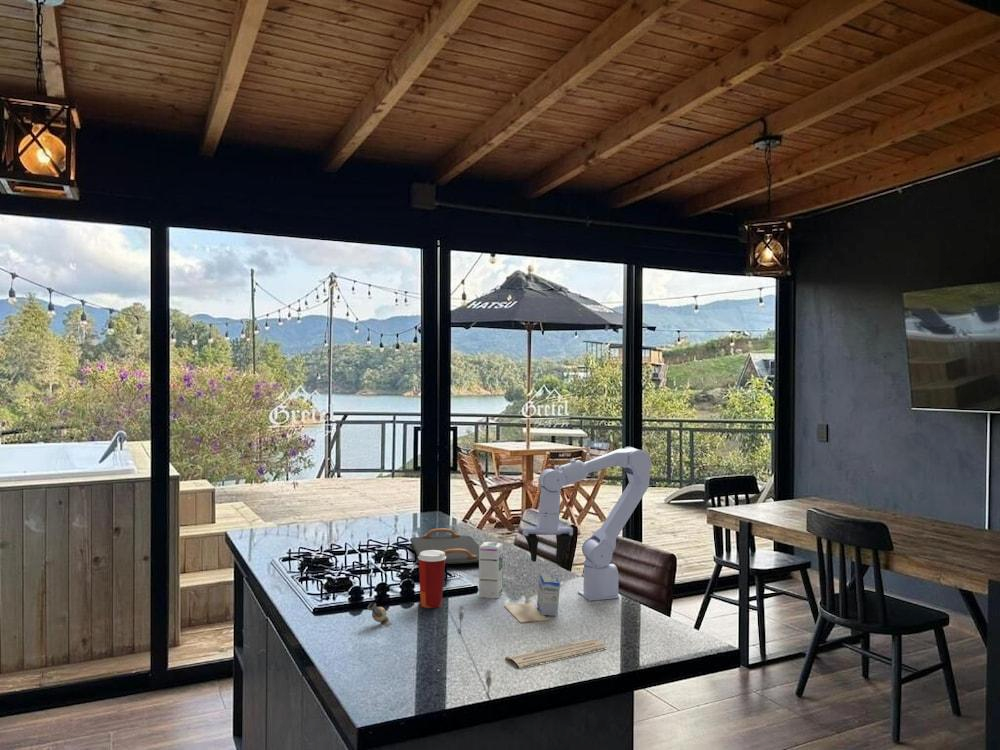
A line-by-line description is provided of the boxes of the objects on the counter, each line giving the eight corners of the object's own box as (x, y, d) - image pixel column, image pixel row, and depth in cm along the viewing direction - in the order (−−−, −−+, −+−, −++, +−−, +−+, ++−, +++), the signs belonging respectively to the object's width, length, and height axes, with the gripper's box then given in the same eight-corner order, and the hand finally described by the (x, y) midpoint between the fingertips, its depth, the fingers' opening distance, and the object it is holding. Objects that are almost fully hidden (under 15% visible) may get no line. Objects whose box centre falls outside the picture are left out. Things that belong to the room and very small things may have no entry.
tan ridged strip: (519, 672, 151) (519, 664, 151) (502, 660, 157) (502, 652, 157) (606, 652, 163) (606, 644, 163) (587, 641, 169) (587, 634, 169)
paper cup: (450, 602, 193) (451, 551, 193) (436, 611, 186) (437, 557, 186) (425, 598, 196) (426, 548, 196) (411, 606, 189) (412, 554, 189)
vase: (371, 631, 171) (370, 605, 172) (364, 625, 176) (363, 601, 176) (392, 627, 174) (391, 602, 174) (385, 622, 178) (384, 597, 179)
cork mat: (530, 604, 193) (530, 603, 193) (548, 620, 181) (548, 619, 181) (504, 606, 191) (504, 605, 191) (520, 623, 178) (520, 621, 178)
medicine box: (536, 605, 191) (539, 573, 192) (553, 606, 192) (555, 574, 192) (540, 615, 184) (543, 581, 184) (557, 616, 184) (560, 582, 184)
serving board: (492, 569, 229) (492, 550, 229) (420, 572, 223) (421, 553, 223) (469, 541, 266) (469, 525, 266) (407, 543, 261) (408, 527, 261)
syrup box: (498, 599, 197) (499, 547, 197) (477, 597, 198) (479, 545, 198) (502, 593, 203) (503, 542, 203) (482, 591, 204) (483, 541, 204)
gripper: (566, 509, 206) (564, 556, 205) (520, 509, 201) (517, 557, 201) (577, 514, 199) (574, 562, 199) (529, 514, 194) (525, 564, 194)
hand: (546, 560), depth 199 cm, fingers open, 7 cm apart
